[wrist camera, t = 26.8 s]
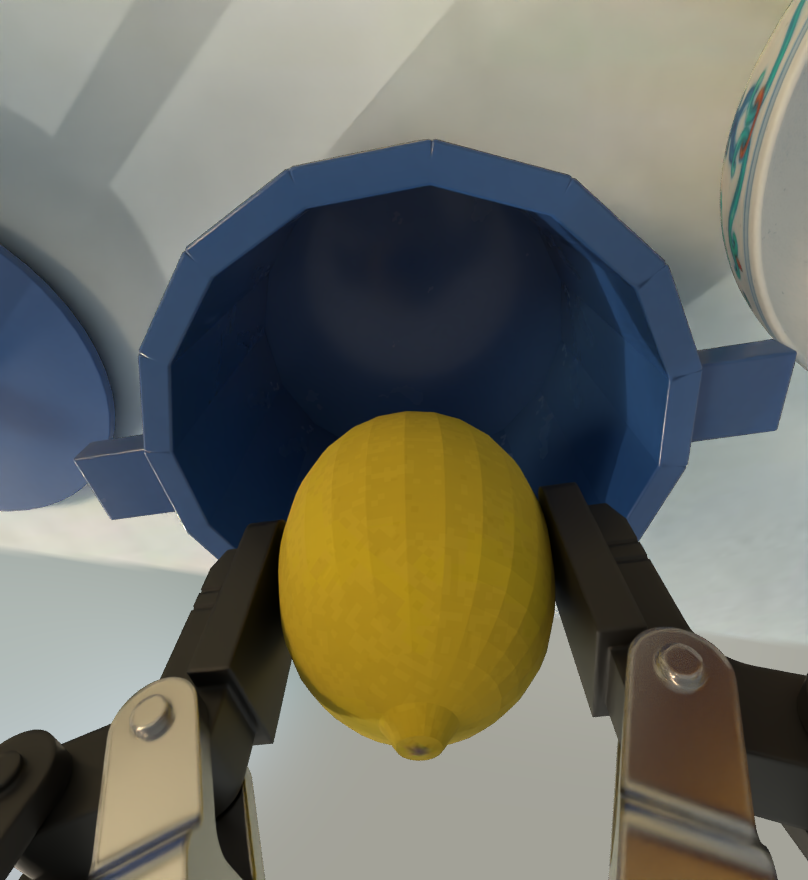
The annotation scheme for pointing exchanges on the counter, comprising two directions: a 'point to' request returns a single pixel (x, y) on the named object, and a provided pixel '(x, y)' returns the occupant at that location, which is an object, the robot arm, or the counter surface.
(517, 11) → the counter surface
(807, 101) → the chinaware
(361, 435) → the lemon
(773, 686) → the robot arm
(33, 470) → the lid
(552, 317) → the pot
